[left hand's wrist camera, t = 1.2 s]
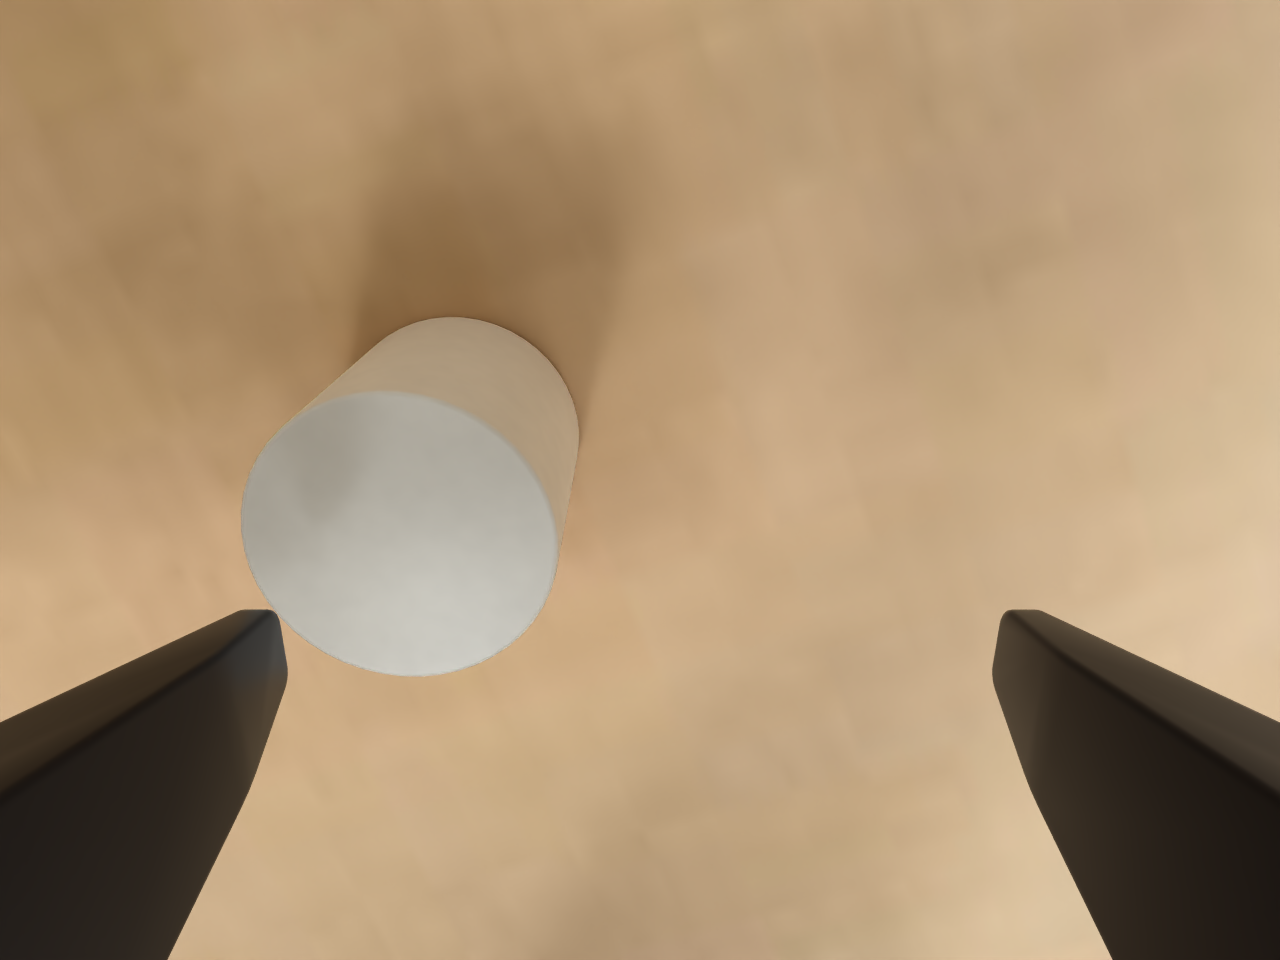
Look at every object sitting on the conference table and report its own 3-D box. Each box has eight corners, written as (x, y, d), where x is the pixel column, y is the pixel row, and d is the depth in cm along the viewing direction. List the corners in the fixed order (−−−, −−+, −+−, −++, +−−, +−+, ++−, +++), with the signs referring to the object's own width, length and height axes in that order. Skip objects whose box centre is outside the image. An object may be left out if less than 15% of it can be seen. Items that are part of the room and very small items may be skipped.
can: (625, 405, 17) (620, 507, 12) (500, 578, 18) (455, 727, 14) (417, 266, 16) (332, 325, 12) (301, 460, 17) (185, 579, 13)
